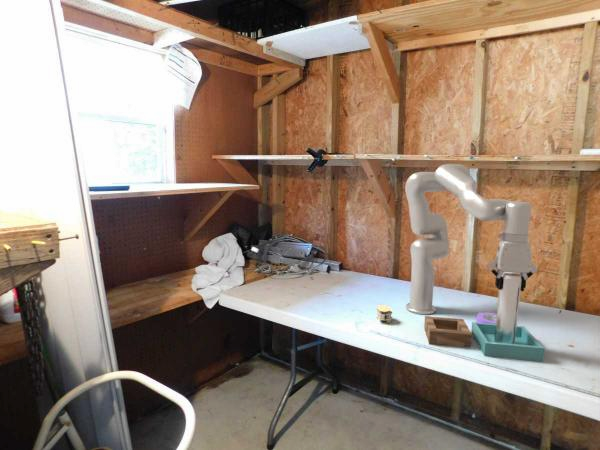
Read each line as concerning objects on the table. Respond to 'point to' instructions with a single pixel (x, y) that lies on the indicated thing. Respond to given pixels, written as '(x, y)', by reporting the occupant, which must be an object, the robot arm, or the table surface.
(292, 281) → the table surface
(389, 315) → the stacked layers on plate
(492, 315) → the masking tape
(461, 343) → the socket block
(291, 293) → the table surface
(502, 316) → the silver tall rounded column
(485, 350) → the tray
